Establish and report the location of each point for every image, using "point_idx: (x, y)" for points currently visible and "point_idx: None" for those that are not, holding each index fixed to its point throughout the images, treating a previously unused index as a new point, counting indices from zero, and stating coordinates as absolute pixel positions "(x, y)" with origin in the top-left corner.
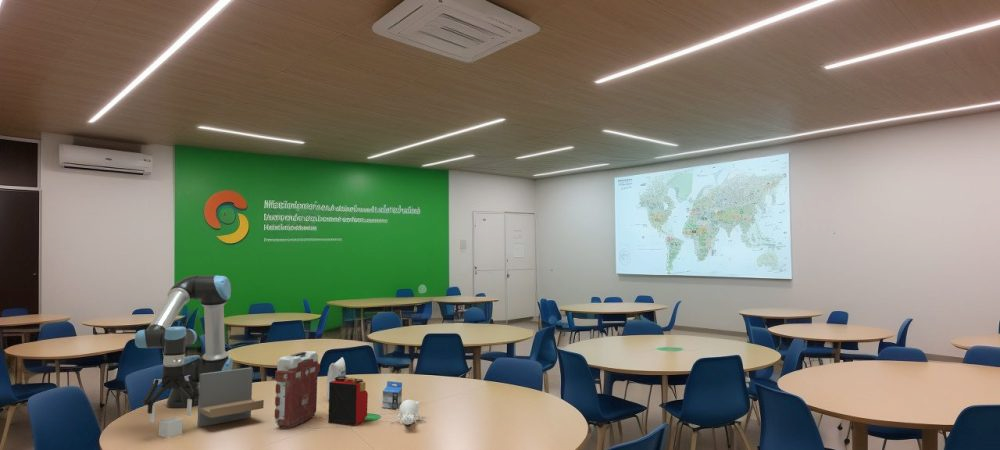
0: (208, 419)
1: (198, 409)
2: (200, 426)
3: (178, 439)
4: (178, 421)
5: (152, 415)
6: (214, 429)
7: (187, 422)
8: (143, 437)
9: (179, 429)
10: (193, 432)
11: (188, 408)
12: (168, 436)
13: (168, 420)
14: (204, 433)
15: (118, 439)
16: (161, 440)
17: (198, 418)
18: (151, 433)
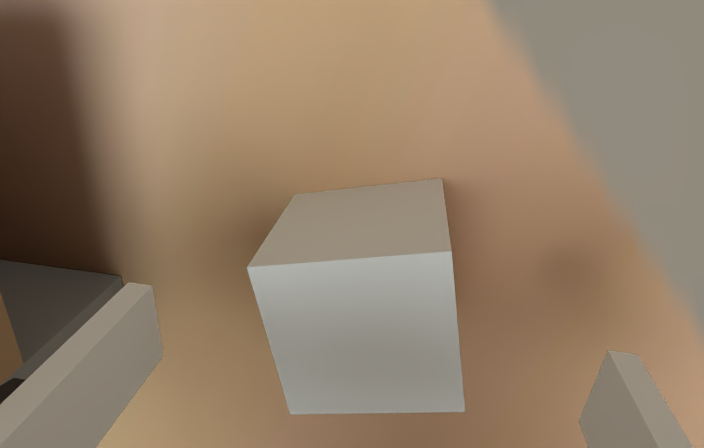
0: (7, 295)
1: None
2: (107, 276)
3: (396, 19)
4: (303, 255)
5: (685, 436)
6: (17, 97)
7: (162, 442)
8: (557, 349)
9: (309, 211)
10: (198, 158)
11: (97, 386)
12: (428, 183)
13: (390, 345)
14: (122, 29)
15: (698, 440)
16: (523, 132)
17: None
18: None
